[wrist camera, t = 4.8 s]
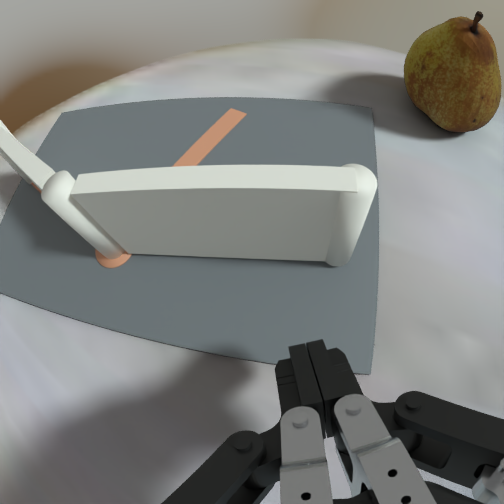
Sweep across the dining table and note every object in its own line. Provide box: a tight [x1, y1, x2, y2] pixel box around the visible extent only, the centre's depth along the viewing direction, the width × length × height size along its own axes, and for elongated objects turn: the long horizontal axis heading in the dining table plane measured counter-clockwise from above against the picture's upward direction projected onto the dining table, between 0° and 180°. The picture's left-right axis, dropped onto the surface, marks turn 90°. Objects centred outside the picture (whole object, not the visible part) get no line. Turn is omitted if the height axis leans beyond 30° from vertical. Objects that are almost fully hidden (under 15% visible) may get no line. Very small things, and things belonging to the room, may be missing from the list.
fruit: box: [404, 11, 501, 132], centre depth 18 cm, size 9×9×12 cm
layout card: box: [0, 97, 379, 375], centre depth 23 cm, size 32×20×1 cm, turn 80°
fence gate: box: [71, 164, 377, 267], centre depth 16 cm, size 14×2×7 cm, turn 85°
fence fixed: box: [0, 120, 125, 259], centre depth 20 cm, size 16×2×8 cm, turn 55°
